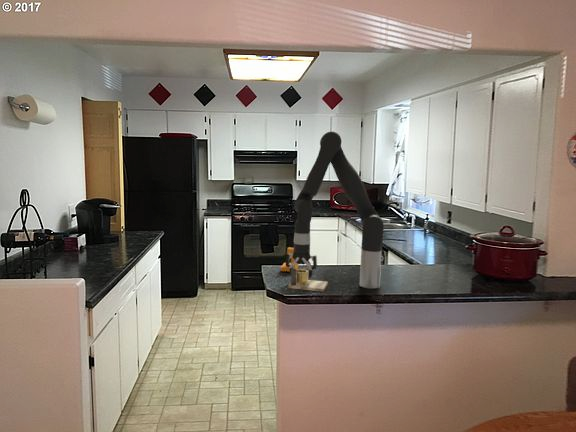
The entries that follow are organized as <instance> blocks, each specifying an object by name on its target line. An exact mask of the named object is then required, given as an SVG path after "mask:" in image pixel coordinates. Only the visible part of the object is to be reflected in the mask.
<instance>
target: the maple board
mask: <svg viewBox="0 0 576 432" xmlns="http://www.w3.org/2000/svg"><path fill="white" fill-rule="evenodd" d="M296 271H297V270H296V269H291V275H290V282H289V283H288V285H287V289H293V290H294V289H295V290H296V289H297V290H302V291H303V290H304V291H314V292H322V293H323V292H324V291H325V289H326V288H327V286H328V284H329V283H328V282H329V281H325V280H313V279H308V282H307V283H303V284H301V283H296Z"/></svg>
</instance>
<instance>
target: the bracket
mask: <svg viewBox="0 0 576 432" xmlns="http://www.w3.org/2000/svg"><path fill="white" fill-rule="evenodd" d="M288 253H290V254H293V253H294V247H290V246H289V247H287V250H286V255H287V254H288ZM293 262H294V259H293V257H291V258H290V264H292V263H293ZM293 269H296V270H297V269H299V264H297V263H296V264H295V265H294V266H293ZM286 271H287V273H288V272H289V273H290V268H289V267H286V262H283V264H282V265H281V266H280V272H286Z"/></svg>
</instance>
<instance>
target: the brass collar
mask: <svg viewBox="0 0 576 432" xmlns="http://www.w3.org/2000/svg"><path fill="white" fill-rule="evenodd" d="M308 280H309V270H307V269H304V268H303V269H302V268H301V269H300V268H297V271H296V283H301V284H303V283H307V282H308Z"/></svg>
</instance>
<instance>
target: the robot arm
mask: <svg viewBox="0 0 576 432" xmlns="http://www.w3.org/2000/svg"><path fill="white" fill-rule="evenodd" d="M319 145H320V147H319V151H318V154H317V157H316V160H315V162H314V163H313V166H312V167H311V169H310V172H309V173H308V175H307V178H306V179H305V182H304V184H303V188H302V189H301V191H300V192H299V193H298V195H297V197H296V199H295V201H294V206H293V207H294V210H295V212H296V213H297V216H296V221H295V223H294V235H293V248H294V253H293V254H290V253H288V254H287V253H286V258H285V263H286V267H289V268H290V272H289V275H290V276H291V269H293V266H294V265H295V264H296V263H297V264H298V265H303V266H304V265H305V266H306V267H307V268H308V269H309V270H308V279H310V278H312V277H313V274H314V271H313V270H316V269H317V268H318V259H317V255H316V254H314V255H311V222H312V217H313V210H314V209H313V208H314V207H313V204H312V200H313V199H314V197H316V196H317V194H318V192H319V190H320V189H321V186H322V183H323V181H324V178H325V176H326V173H327V170H328V168H329V166H330V164H331V166H332V168H333V171H334V173H335V175H336V178H337V180H338V182H339V184H340V187H341V188H342V190H343V192H344V193H345V194H344V195H345V196H346V197H347V198H348V200H349V201H350V203H351V204H352V205H353V207H354V208H355V210H356V212H357V213H358V214H357V215H358V217H359V219H360V221H361V225H362V231H361V232H362V233H361V236H362V237H361V248H360V249H361V251H360V252H361V253H360V268H359V270H360V271H359V286H360V287H362V288H364V289H380V287H381V272H382V271H381V270H382V251H383V244H384V243H383V242H384V241H383V240H384V231H385V230H384V228H385V227H384V222H383V220H382V217H381V216H379V214H378V212H377V211H376V210H375V208H374V207H373V204H372V202H371V201H370V197H369V195H368V193H367V190H366V187H365V185H364V183H363V180H362V178H361V177H360V176H359V174H358V172H357V170H356V169H355V167H354V166H353V165H352V164H351V162H349V160H348V159H347V157H346V155H345V152H344V150H343V148H342V138H341V135H340V134H339V133H338V132H335V131H328V132H326V133H324V134H323V135H322V136H321V138H320V141H319ZM291 257H293V259H294V262H293V263H292V264H290V263H291ZM310 260H311V261H312V263H311V262H310Z"/></svg>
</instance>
